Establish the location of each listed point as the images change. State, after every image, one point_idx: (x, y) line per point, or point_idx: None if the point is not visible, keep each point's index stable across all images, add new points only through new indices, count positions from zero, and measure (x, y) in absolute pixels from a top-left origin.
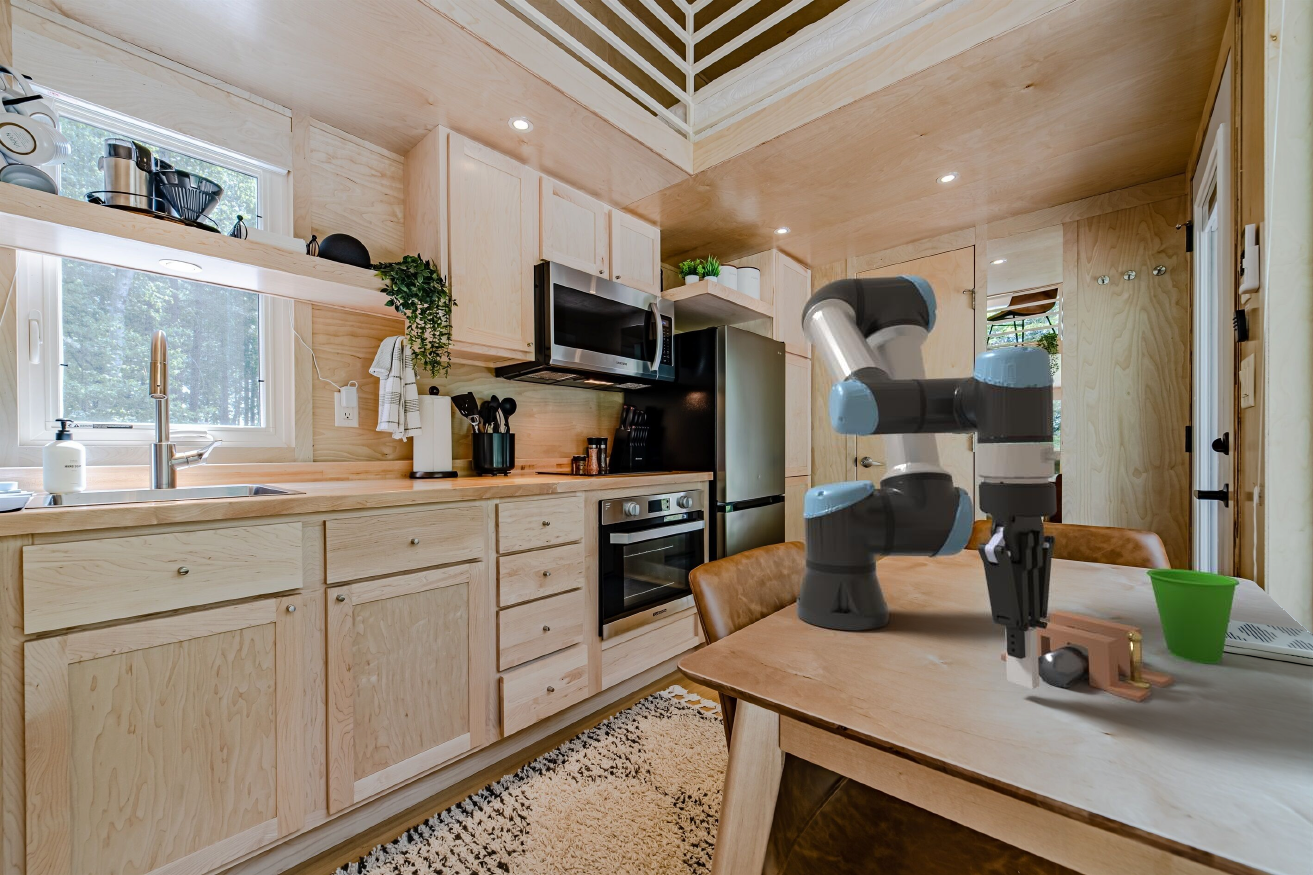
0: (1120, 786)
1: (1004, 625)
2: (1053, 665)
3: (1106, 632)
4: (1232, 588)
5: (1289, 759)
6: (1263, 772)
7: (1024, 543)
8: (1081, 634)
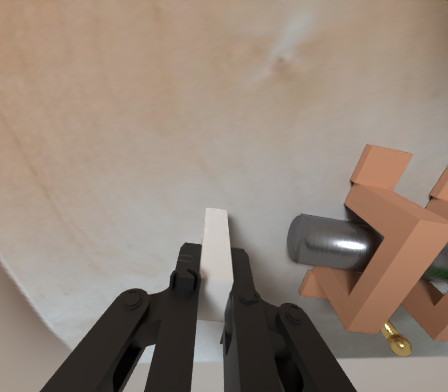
0: (90, 305)
1: (152, 296)
2: (300, 245)
3: (444, 303)
4: None
5: None
6: (209, 350)
7: None
8: (372, 303)
